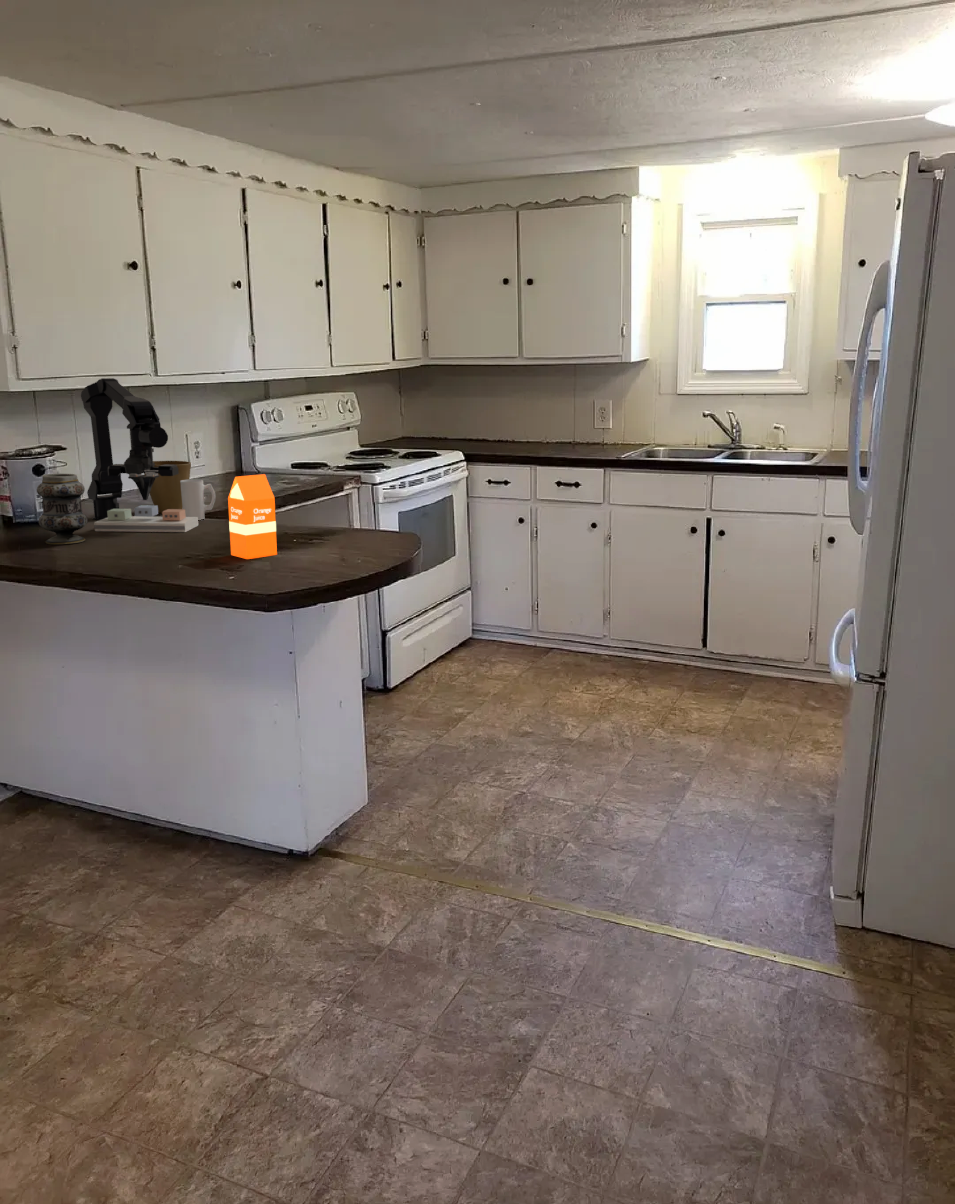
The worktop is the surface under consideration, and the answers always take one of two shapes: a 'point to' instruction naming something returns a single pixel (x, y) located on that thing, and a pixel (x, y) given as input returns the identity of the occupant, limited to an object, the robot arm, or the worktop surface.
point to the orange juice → (252, 517)
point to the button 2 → (146, 510)
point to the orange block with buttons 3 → (173, 514)
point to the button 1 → (119, 514)
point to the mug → (195, 498)
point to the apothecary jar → (62, 507)
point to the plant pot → (169, 486)
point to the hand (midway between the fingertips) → (145, 500)
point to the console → (146, 524)
